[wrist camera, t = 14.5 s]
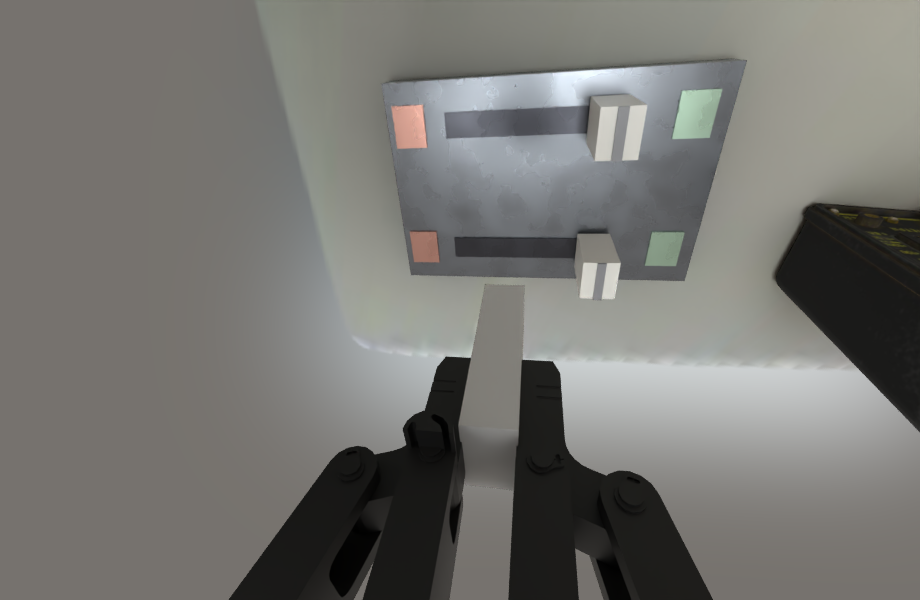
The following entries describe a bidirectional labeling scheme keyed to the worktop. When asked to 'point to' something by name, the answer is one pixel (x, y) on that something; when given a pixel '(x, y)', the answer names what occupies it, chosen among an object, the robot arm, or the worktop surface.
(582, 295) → the block
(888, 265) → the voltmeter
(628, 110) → the block
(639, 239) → the breaker panel
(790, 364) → the worktop surface
